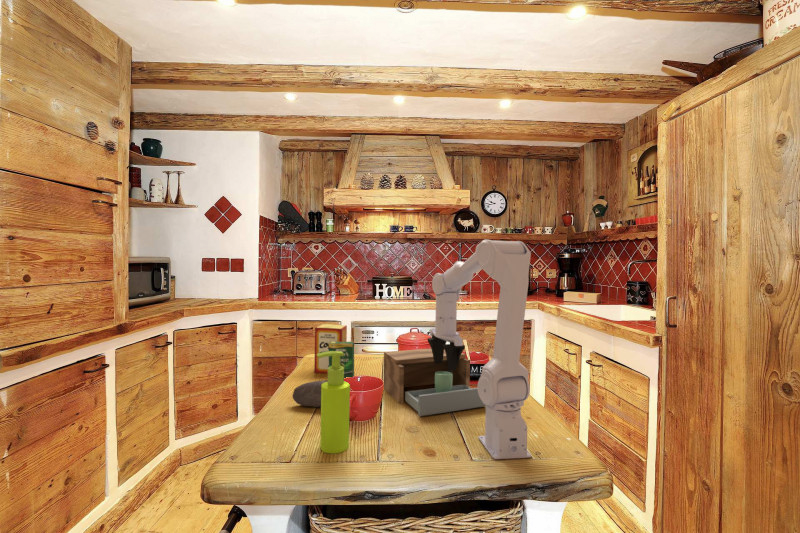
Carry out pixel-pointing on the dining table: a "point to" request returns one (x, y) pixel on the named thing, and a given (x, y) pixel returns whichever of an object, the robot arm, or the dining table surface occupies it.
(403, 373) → the wooden drawer box
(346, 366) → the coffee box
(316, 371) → the red food box
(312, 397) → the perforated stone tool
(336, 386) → the soap dispenser
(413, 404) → the drawer tray
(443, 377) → the sea green cylinder
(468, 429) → the dining table surface
